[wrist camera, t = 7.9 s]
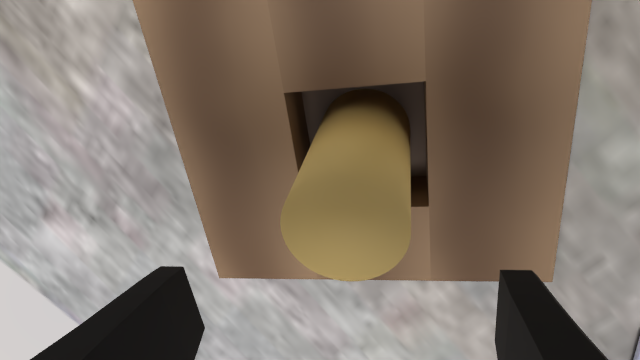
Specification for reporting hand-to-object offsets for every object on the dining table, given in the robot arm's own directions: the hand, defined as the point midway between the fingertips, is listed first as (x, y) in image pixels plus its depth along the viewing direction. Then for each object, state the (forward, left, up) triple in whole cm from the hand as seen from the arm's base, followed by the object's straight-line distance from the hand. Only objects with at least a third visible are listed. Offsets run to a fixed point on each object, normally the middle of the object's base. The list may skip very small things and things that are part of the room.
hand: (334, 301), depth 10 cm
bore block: (0, 0, -10) cm, 10 cm away
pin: (0, 0, -10) cm, 10 cm away
